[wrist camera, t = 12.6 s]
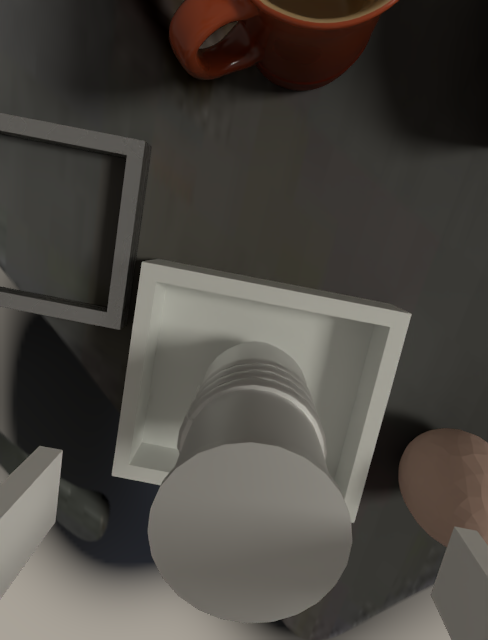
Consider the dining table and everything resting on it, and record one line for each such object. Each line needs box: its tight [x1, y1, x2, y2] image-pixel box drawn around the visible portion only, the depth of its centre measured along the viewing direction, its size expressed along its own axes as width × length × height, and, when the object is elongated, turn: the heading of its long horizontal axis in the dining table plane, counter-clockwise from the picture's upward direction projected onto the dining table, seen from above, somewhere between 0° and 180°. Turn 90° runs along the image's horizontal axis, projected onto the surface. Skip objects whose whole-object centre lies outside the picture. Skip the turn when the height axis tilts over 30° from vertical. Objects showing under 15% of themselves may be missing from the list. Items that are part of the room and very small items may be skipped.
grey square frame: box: [0, 113, 151, 330], centre depth 27 cm, size 12×12×2 cm
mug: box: [169, 0, 399, 91], centre depth 20 cm, size 12×9×10 cm
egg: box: [398, 428, 488, 547], centre depth 25 cm, size 7×7×9 cm
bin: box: [112, 259, 411, 523], centre depth 27 cm, size 14×16×4 cm
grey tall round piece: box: [148, 341, 352, 623], centre depth 21 cm, size 7×7×15 cm
